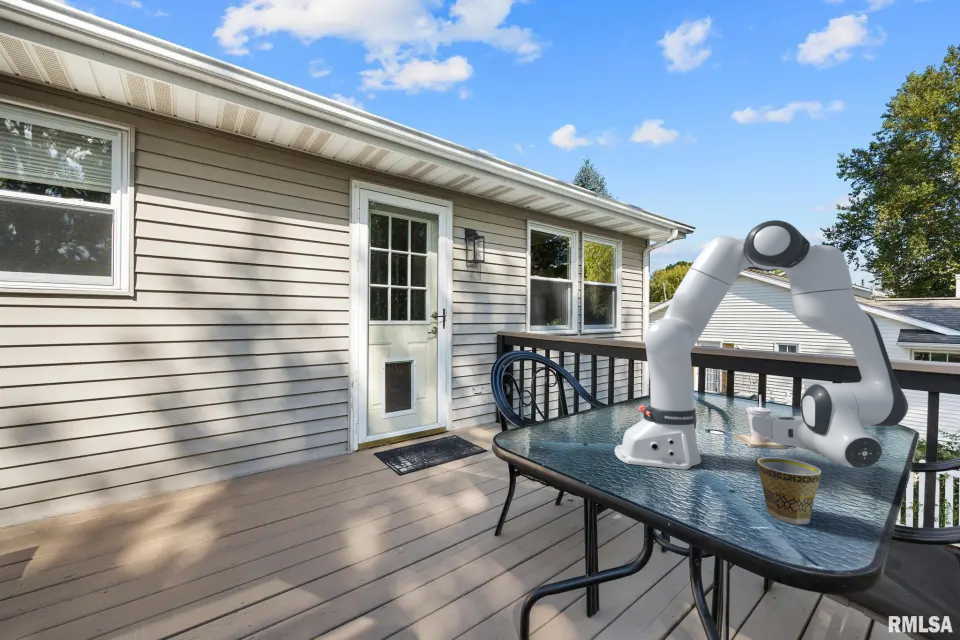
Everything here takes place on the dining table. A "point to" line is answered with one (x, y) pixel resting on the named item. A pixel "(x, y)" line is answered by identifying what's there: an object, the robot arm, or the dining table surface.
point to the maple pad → (752, 443)
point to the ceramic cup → (788, 488)
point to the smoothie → (757, 412)
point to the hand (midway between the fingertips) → (780, 419)
